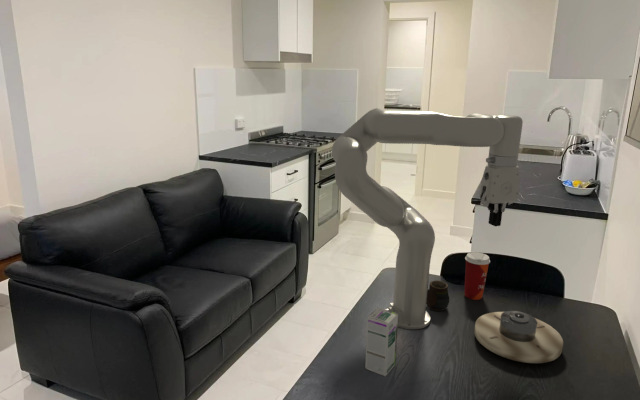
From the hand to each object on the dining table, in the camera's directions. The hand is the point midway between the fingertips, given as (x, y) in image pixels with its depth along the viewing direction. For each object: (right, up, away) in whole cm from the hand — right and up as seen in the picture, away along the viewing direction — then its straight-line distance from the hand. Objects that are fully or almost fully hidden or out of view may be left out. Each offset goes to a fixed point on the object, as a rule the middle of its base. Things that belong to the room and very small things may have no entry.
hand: (494, 224), depth 136 cm
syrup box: (-35, -35, -17) cm, 52 cm away
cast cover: (+4, -29, -7) cm, 30 cm away
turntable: (+4, -31, -6) cm, 31 cm away
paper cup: (+1, -25, +21) cm, 32 cm away
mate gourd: (-13, -27, +13) cm, 32 cm away
